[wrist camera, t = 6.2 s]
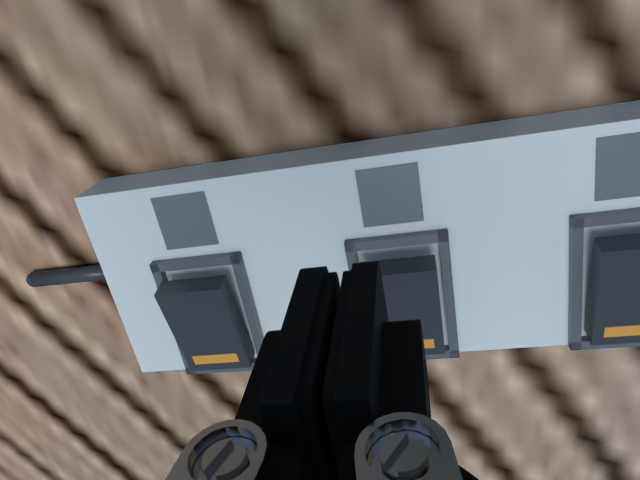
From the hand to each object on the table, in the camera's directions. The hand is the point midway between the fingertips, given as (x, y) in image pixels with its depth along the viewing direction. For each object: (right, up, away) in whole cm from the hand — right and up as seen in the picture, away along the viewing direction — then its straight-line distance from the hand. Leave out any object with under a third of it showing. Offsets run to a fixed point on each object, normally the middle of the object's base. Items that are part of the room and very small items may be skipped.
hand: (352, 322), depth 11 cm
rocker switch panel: (0, +2, +26) cm, 26 cm away
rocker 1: (-8, -4, +24) cm, 25 cm away
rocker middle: (+5, -3, +21) cm, 22 cm away
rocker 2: (+17, -1, +18) cm, 25 cm away
